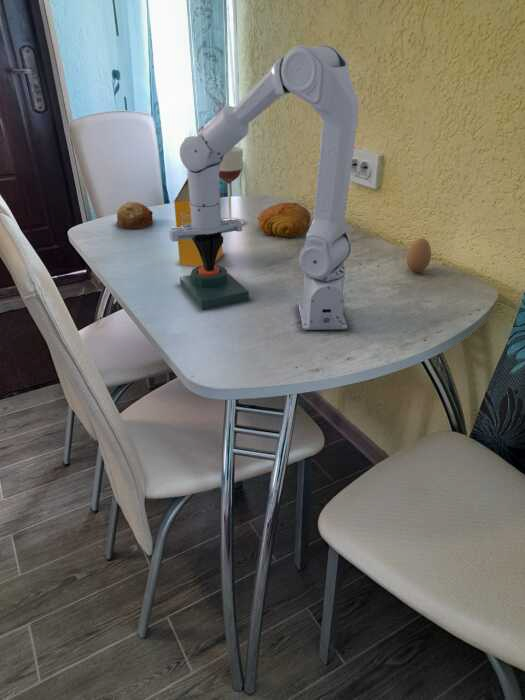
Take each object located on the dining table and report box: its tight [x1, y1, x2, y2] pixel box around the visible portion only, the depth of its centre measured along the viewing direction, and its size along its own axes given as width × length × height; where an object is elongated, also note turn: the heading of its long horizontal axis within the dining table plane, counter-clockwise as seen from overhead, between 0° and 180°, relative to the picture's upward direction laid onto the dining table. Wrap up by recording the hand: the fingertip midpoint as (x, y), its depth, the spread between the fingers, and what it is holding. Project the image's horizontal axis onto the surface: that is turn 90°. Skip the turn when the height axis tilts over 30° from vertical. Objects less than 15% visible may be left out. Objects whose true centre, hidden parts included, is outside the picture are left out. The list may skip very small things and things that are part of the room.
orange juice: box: [173, 177, 224, 267], centre depth 115 cm, size 8×9×20 cm
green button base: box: [179, 264, 250, 311], centre depth 103 cm, size 13×10×4 cm
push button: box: [198, 266, 220, 276], centre depth 104 cm, size 4×4×2 cm
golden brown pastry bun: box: [257, 201, 312, 238], centre depth 138 cm, size 14×16×8 cm
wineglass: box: [219, 145, 244, 225], centre depth 139 cm, size 8×9×20 cm
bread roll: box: [116, 201, 154, 230], centre depth 142 cm, size 10×10×8 cm
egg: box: [405, 237, 432, 274], centre depth 112 cm, size 5×5×8 cm
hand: (208, 269), depth 103 cm, fingers closed, pressing on push button
